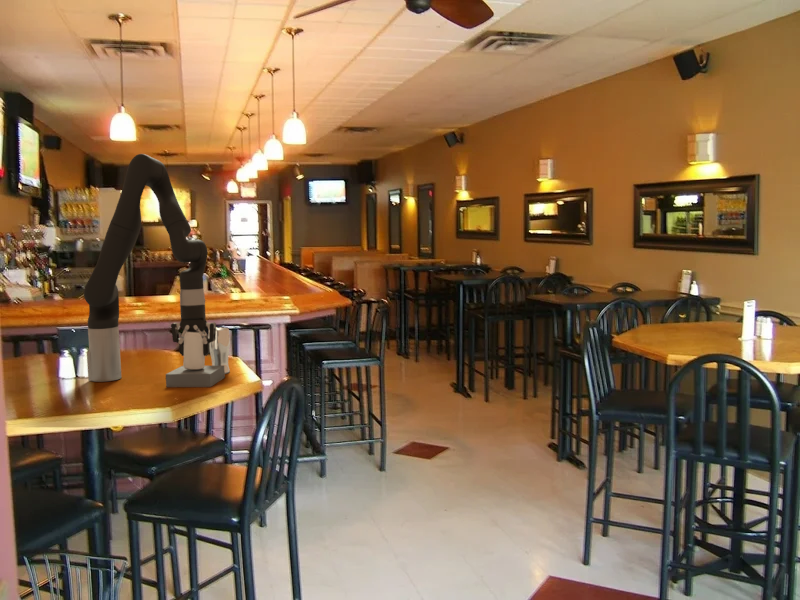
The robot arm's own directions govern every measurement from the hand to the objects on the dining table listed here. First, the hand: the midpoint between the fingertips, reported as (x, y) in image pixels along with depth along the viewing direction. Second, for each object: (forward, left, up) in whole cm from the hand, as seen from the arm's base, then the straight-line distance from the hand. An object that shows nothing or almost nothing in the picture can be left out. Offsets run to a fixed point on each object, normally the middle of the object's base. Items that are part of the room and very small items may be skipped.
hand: (194, 355), depth 225 cm
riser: (0, 0, -9) cm, 9 cm away
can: (0, 0, -4) cm, 4 cm away
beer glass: (+3, +15, -9) cm, 18 cm away
